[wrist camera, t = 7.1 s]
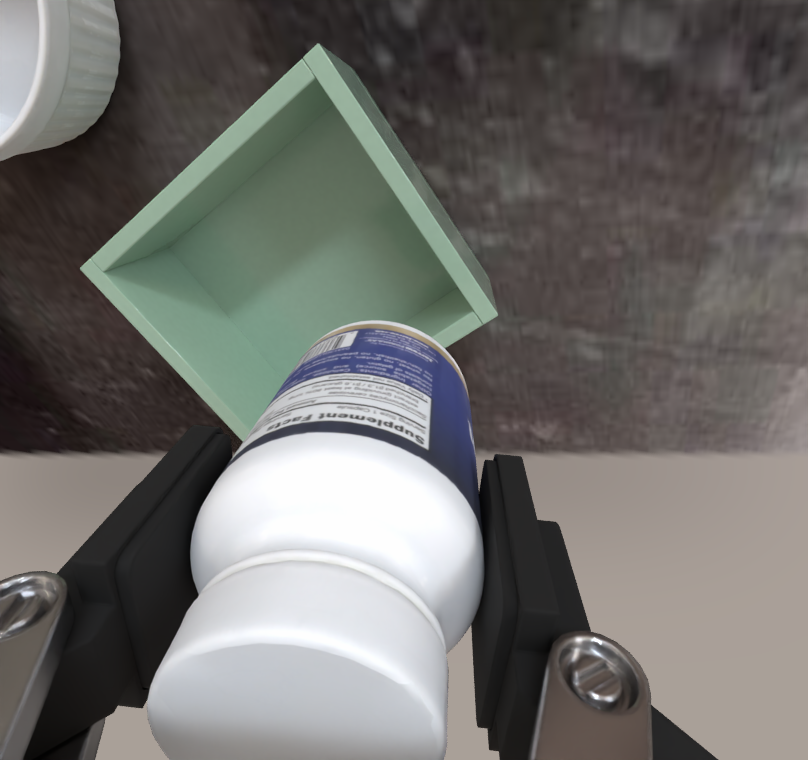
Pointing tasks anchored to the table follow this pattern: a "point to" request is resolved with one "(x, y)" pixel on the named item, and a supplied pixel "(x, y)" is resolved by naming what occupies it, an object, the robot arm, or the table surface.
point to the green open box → (290, 244)
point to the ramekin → (54, 70)
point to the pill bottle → (333, 565)
